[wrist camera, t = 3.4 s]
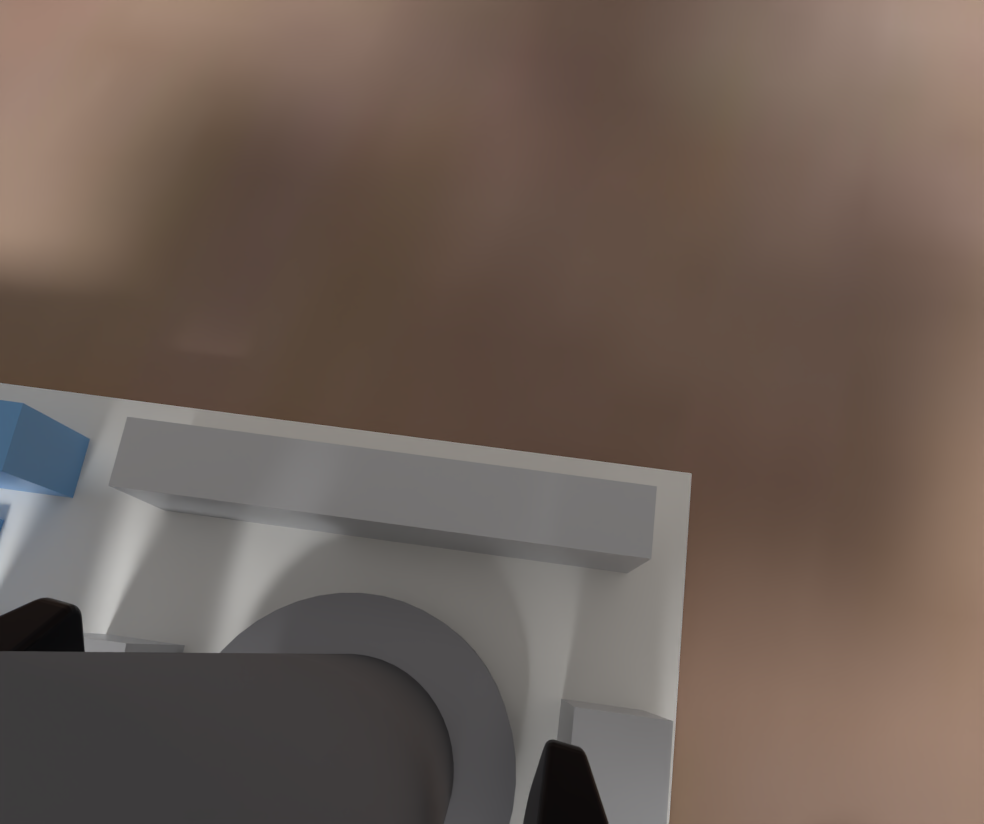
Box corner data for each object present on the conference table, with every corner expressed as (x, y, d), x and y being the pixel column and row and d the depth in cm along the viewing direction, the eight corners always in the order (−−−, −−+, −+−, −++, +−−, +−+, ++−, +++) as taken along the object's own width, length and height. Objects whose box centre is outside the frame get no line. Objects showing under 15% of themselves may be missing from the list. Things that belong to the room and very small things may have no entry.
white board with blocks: (678, 485, 17) (727, 441, 14) (629, 1179, 14) (678, 1363, 10) (-318, 354, 18) (-518, 280, 14) (-598, 978, 14) (-951, 1083, 11)
